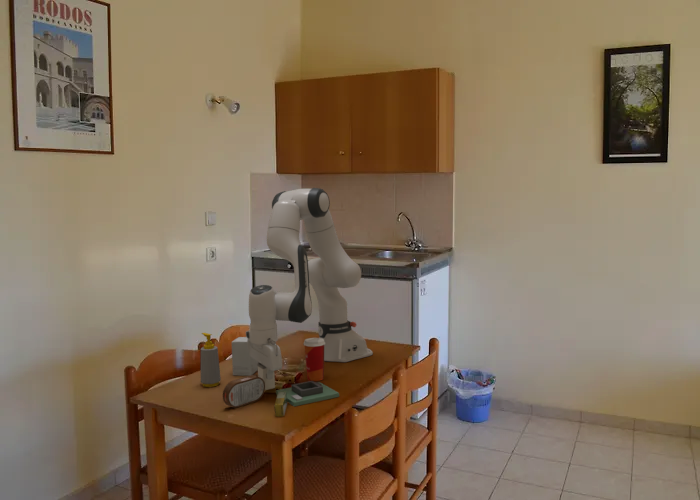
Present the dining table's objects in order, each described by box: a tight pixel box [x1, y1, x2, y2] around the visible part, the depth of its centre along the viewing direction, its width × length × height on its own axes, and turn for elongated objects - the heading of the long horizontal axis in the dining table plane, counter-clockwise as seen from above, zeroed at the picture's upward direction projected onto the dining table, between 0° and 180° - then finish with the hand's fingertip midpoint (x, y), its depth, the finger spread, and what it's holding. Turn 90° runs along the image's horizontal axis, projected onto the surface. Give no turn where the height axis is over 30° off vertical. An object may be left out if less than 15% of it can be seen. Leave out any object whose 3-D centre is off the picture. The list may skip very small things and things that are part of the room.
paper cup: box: [303, 337, 325, 382], centre depth 225 cm, size 8×8×14 cm
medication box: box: [274, 391, 288, 417], centre depth 196 cm, size 12×3×4 cm, turn 1°
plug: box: [257, 363, 276, 391], centre depth 210 cm, size 4×4×8 cm
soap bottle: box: [200, 332, 222, 388], centre depth 221 cm, size 7×7×18 cm
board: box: [275, 380, 340, 407], centre depth 208 cm, size 16×14×3 cm
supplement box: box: [231, 336, 258, 377], centre depth 234 cm, size 7×7×13 cm
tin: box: [222, 374, 266, 408], centre depth 202 cm, size 15×3×8 cm, turn 136°
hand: (266, 376), depth 210 cm, fingers closed on plug, 4 cm apart
